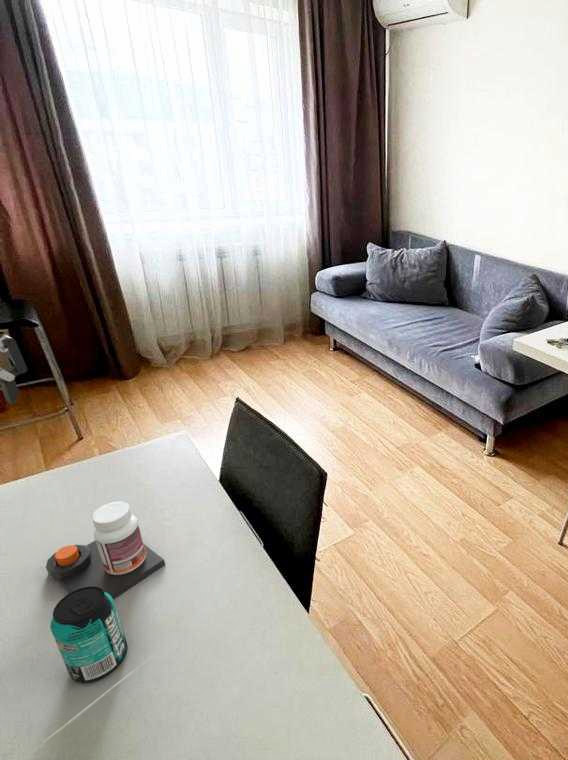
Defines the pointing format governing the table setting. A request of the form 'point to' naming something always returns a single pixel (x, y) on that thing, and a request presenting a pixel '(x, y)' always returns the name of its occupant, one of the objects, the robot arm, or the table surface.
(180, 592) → the table surface
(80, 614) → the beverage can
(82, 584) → the scale
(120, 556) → the pill bottle
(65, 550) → the button
